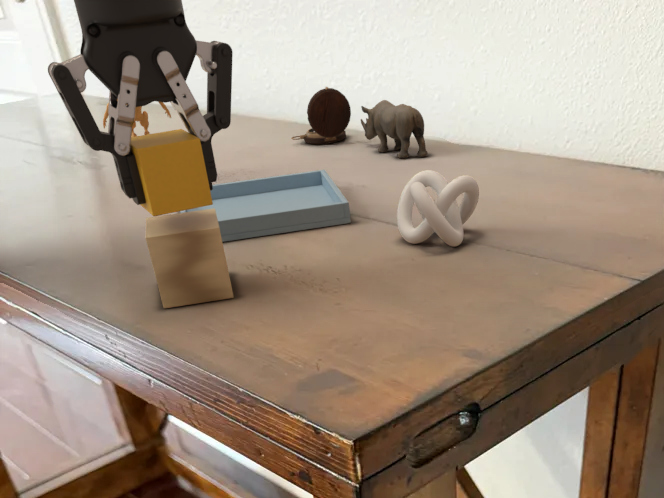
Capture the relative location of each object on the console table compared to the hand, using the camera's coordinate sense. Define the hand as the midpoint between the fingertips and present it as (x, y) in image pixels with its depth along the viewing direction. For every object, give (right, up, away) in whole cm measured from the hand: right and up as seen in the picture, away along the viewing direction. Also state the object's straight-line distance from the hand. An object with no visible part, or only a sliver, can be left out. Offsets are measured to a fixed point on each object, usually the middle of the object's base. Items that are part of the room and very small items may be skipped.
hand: (172, 194), depth 67 cm
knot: (+23, +1, +12) cm, 26 cm away
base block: (+1, -6, +5) cm, 8 cm away
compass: (+7, +29, +50) cm, 58 cm away
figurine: (-13, +18, +38) cm, 44 cm away
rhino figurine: (+17, +24, +43) cm, 52 cm away
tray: (+3, +7, +23) cm, 24 cm away
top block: (0, -1, +1) cm, 1 cm away
